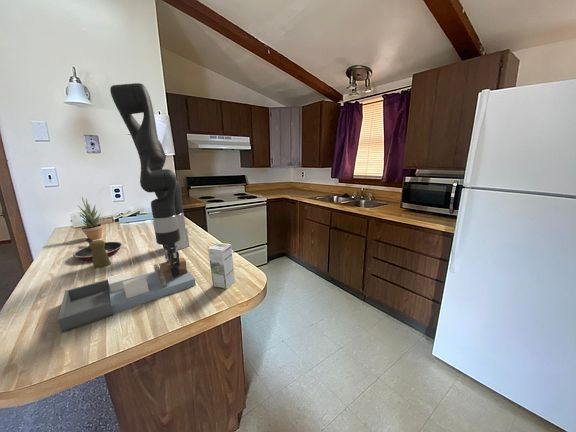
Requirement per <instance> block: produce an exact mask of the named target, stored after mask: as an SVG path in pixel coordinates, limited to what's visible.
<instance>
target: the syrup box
mask: <svg viewBox="0 0 576 432" xmlns="http://www.w3.org/2000/svg"><path fill="white" fill-rule="evenodd" d="M207 251H208V257H209V258H208V259H209V265H210V273H211V280H212V281H211V282H212V287H214V288H220V289H224V290H225V289H228V288H230V287H231V286H232V285H233V284H234V283H235V282H236V278H235V277H236V276H235V269H234V268H235V267H234V257H233V250H232V243H231V244H230V243H225V242H224V243H222V242H217V243H214V244H212V245H211V246H210V247H209V248H207Z"/></svg>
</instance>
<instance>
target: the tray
mask: <svg viewBox="0 0 576 432" xmlns="http://www.w3.org/2000/svg"><path fill="white" fill-rule="evenodd" d="M109 284H110V283H109V278H108V279H103V280H100V281H96V282H93V283H89V284H85V285H82V286H78V287H74V288H70V289H66V290H64V293H63V294H64V295H63V297H62V302H61V306H60V310H59V314H58V318H57V322H58V325H59V328H60V331H61V333H62V334H63V333H66V332H69V331H71V330H74V329H78V328H80V327H83V326H87V325H89V324H92V323H95V322H98V321H101V320H104V319H107V318H110V317H112V316H113V315H114V313H112V309H111V302H110V290H109Z"/></svg>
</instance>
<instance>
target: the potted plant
mask: <svg viewBox="0 0 576 432" xmlns="http://www.w3.org/2000/svg"><path fill="white" fill-rule="evenodd" d="M81 199H82V202H83V205H84V208H85V209H83V208H82V207H81V206H80V205H77V206H78V208H79V210H80V211H79V217H81V218H82V220H81V221H82V223H83V225H85V226H83V227H81V231H82V233H84V234H85V236H86V239H87V238H90V239H92V240H93V241H96V240H100V239H101V238H102V237H103V236H102V234H103V228H104V226H103V224H102V223H98V222H99V221H100V220H101V218H100V217H101V215H102V214H101V212H100V213H99V214H98V210H96V205H94V206H93V209H91V205H90V204H89V202H88V199H87V198H85V200H84V197H83V196H81ZM81 211H82V212H81ZM97 214H98V216H97Z"/></svg>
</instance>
